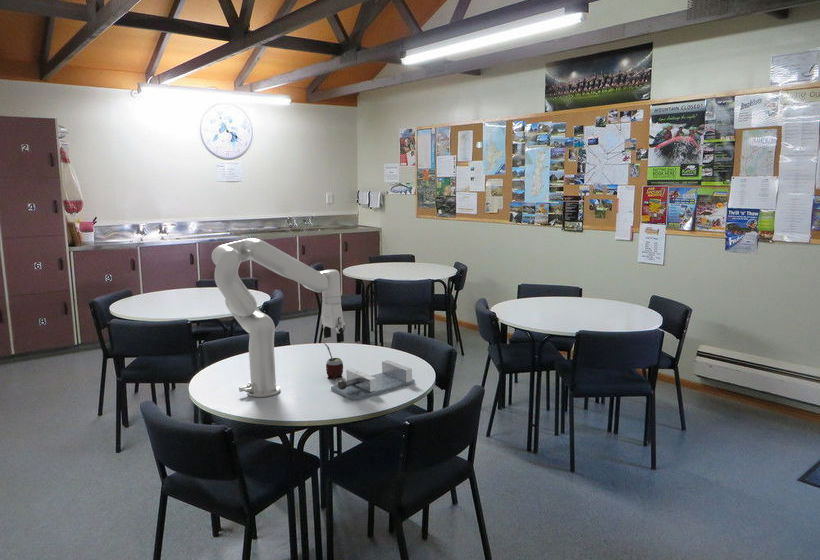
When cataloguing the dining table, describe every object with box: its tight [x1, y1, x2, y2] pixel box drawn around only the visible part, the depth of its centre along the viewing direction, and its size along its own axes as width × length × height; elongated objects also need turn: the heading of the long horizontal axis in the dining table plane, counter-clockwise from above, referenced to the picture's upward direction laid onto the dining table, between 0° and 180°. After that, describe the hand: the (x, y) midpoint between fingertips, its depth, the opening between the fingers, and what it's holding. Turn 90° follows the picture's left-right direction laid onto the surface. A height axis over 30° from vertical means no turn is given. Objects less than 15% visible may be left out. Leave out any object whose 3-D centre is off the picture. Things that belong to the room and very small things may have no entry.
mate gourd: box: [322, 341, 344, 381], centre depth 243 cm, size 8×8×15 cm
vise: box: [330, 359, 416, 402], centre depth 232 cm, size 30×16×6 cm, turn 130°
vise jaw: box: [336, 368, 376, 392], centre depth 225 cm, size 12×16×5 cm
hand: (333, 339), depth 241 cm, fingers open, 9 cm apart
